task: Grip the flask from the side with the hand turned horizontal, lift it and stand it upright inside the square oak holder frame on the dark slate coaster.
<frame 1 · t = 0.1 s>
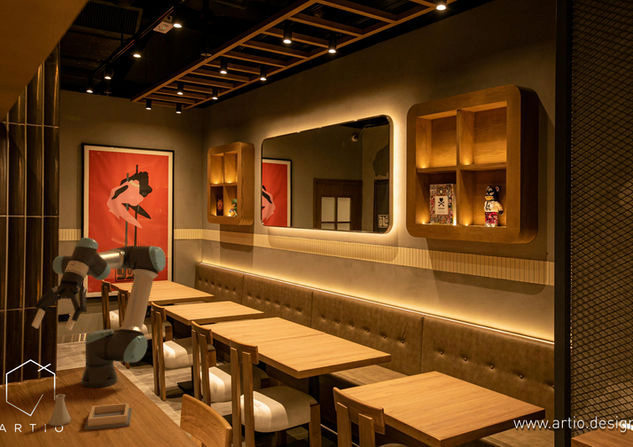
hand: (51, 328, 185), 36 cm above the table, tool tilted 35°, fingers open, 13 cm apart
holder: (109, 420, 194), on the table
flask: (59, 423, 191), on the table
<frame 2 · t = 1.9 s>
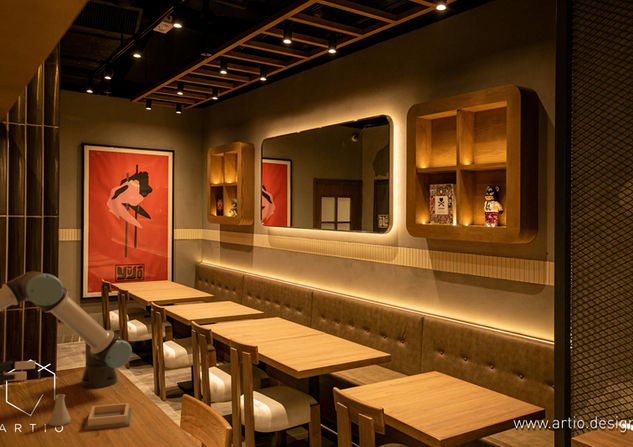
hand: (30, 369, 188), 20 cm above the table, tool horizontal, fingers open, 13 cm apart
nothing on the table moved.
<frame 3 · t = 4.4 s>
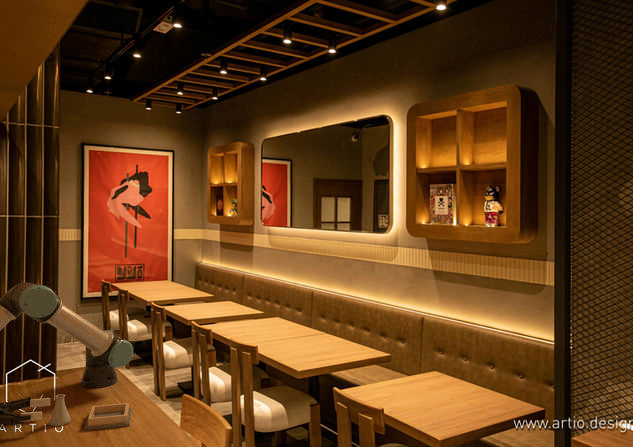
hand: (46, 408, 189), 6 cm above the table, tool horizontal, fingers open, 13 cm apart
nothing on the table moved.
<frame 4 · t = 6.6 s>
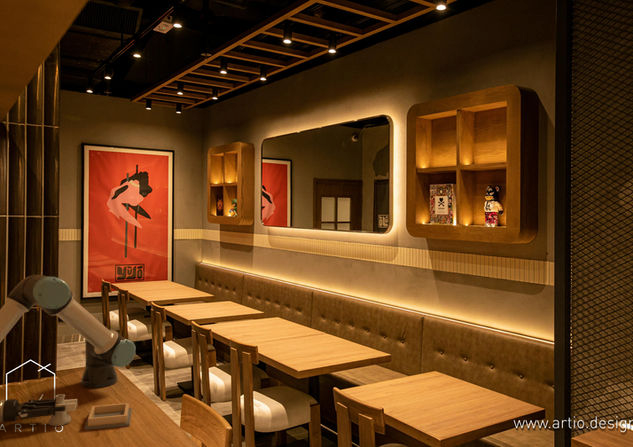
hand: (76, 404, 192), 6 cm above the table, tool horizontal, fingers closed on flask, 3 cm apart
flask: (59, 423, 191), on the table, touching gripper
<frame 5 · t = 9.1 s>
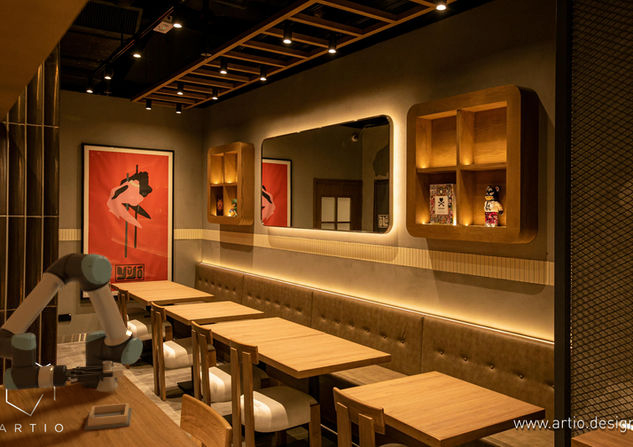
hand: (123, 371, 195), 18 cm above the table, tool horizontal, fingers closed on flask, 3 cm apart
flask: (107, 389, 193), point 12 cm above the table, touching gripper
when the fingers open (9 cm above the table, at t = 11.5 s): flask drops 2 cm, resting on holder.
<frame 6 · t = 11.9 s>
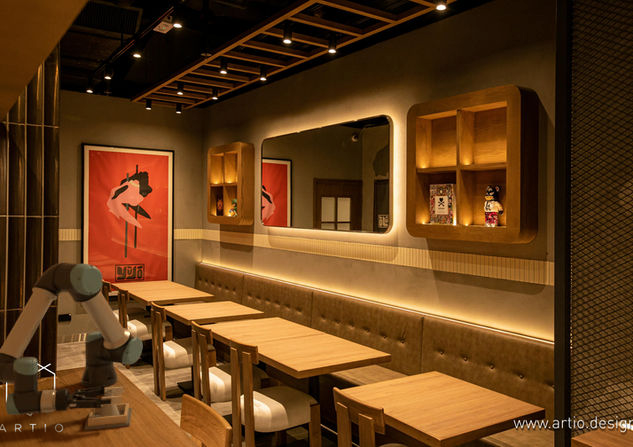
hand: (122, 394, 195), 9 cm above the table, tool horizontal, fingers open, 9 cm apart
flask: (109, 417, 194), point 1 cm above the table, touching holder
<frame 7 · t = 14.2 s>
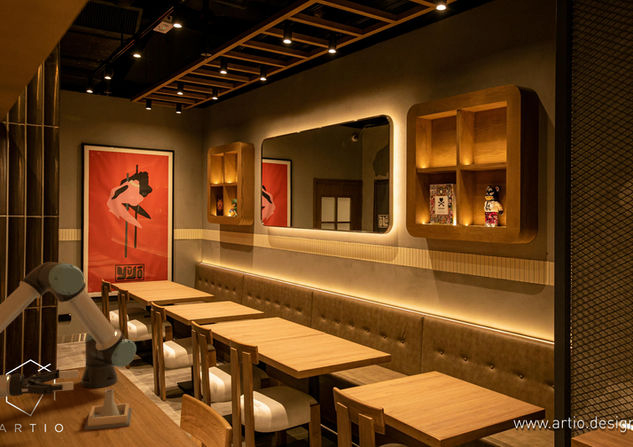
hand: (75, 379, 193), 15 cm above the table, tool horizontal, fingers open, 13 cm apart
nothing on the table moved.
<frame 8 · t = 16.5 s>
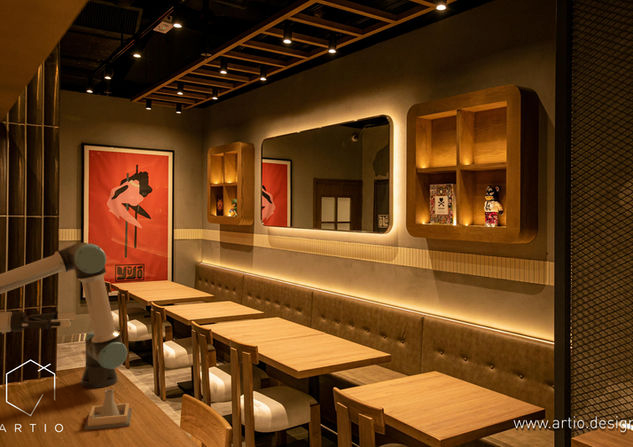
hand: (73, 319, 204), 35 cm above the table, tool horizontal, fingers open, 13 cm apart
nothing on the table moved.
at the end: flask 0.0 cm from the holder (horizontally); flask tilted 0°; flask point 0.8 cm above the table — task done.
